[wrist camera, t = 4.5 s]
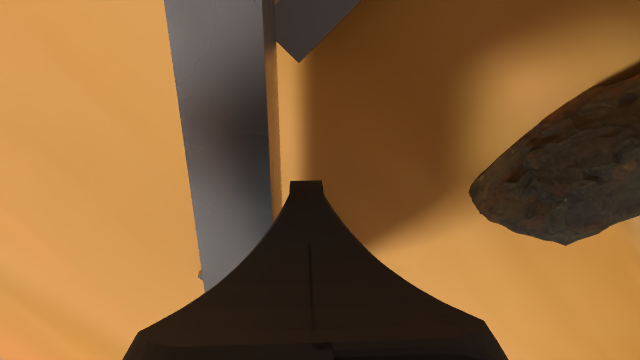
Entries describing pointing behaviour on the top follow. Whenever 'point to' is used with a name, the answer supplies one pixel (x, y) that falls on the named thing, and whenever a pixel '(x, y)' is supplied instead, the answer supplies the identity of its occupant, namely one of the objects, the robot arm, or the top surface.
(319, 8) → the bar
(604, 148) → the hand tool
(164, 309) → the top surface
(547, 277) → the top surface
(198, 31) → the swing gate
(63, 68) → the top surface
